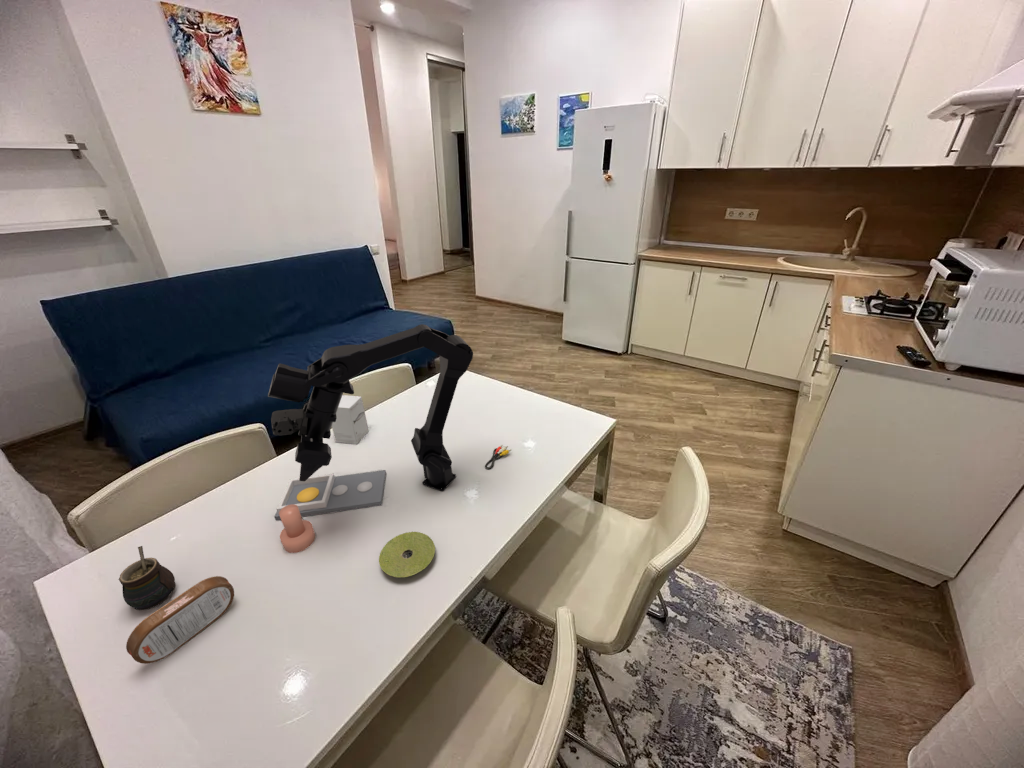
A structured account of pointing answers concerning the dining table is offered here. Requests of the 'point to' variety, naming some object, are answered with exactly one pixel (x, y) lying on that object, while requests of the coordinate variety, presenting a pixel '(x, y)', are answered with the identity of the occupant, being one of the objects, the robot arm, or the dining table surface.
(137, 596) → the mate gourd
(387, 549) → the green disc
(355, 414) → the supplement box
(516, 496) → the dining table surface
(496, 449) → the composite cable
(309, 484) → the station board
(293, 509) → the pink flanged peg
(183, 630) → the tin
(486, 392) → the dining table surface
